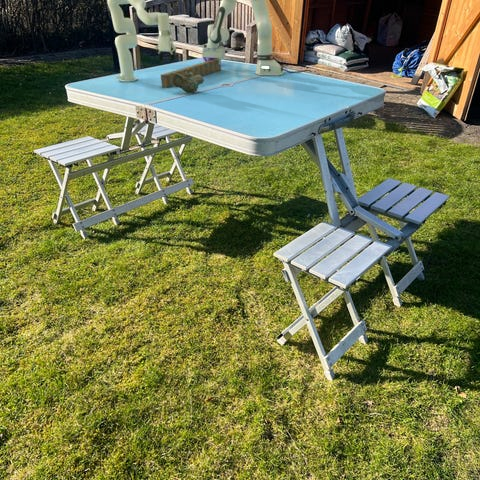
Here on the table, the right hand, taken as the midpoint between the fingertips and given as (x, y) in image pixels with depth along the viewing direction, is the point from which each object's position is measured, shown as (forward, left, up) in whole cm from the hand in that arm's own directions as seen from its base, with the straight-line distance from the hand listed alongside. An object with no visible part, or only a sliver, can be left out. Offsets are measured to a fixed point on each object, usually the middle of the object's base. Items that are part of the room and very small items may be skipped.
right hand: (214, 63), depth 369 cm
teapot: (-18, +79, -6) cm, 82 cm away
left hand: (+6, +64, +12) cm, 66 cm away
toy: (+12, -27, -6) cm, 30 cm away
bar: (+3, +32, -6) cm, 33 cm away
